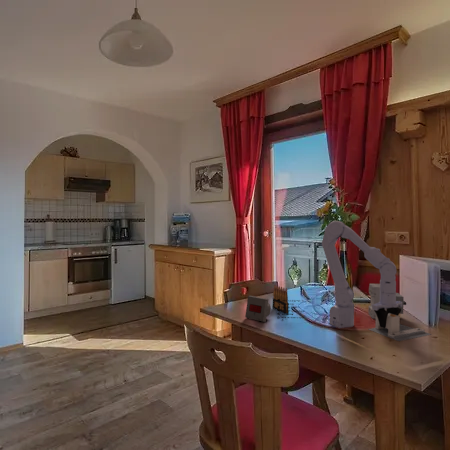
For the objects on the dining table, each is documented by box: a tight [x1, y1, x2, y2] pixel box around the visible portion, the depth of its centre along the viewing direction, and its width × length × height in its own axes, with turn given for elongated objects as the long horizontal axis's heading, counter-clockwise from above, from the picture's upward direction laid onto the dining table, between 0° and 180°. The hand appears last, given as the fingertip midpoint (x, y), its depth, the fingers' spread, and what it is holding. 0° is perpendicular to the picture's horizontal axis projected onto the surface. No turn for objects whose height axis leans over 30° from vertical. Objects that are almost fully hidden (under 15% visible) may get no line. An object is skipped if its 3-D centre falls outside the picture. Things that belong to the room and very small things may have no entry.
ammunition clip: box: [271, 284, 290, 315], centre depth 161 cm, size 11×2×12 cm, turn 28°
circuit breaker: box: [367, 283, 407, 320], centre depth 148 cm, size 8×14×15 cm, turn 78°
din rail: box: [387, 327, 426, 340], centre depth 126 cm, size 17×3×1 cm, turn 114°
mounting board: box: [367, 323, 432, 342], centre depth 129 cm, size 18×14×1 cm
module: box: [374, 313, 401, 333], centre depth 131 cm, size 4×7×7 cm, turn 24°
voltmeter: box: [244, 295, 307, 323], centre depth 147 cm, size 27×11×10 cm, turn 87°
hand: (387, 326), depth 131 cm, fingers closed on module, 4 cm apart
